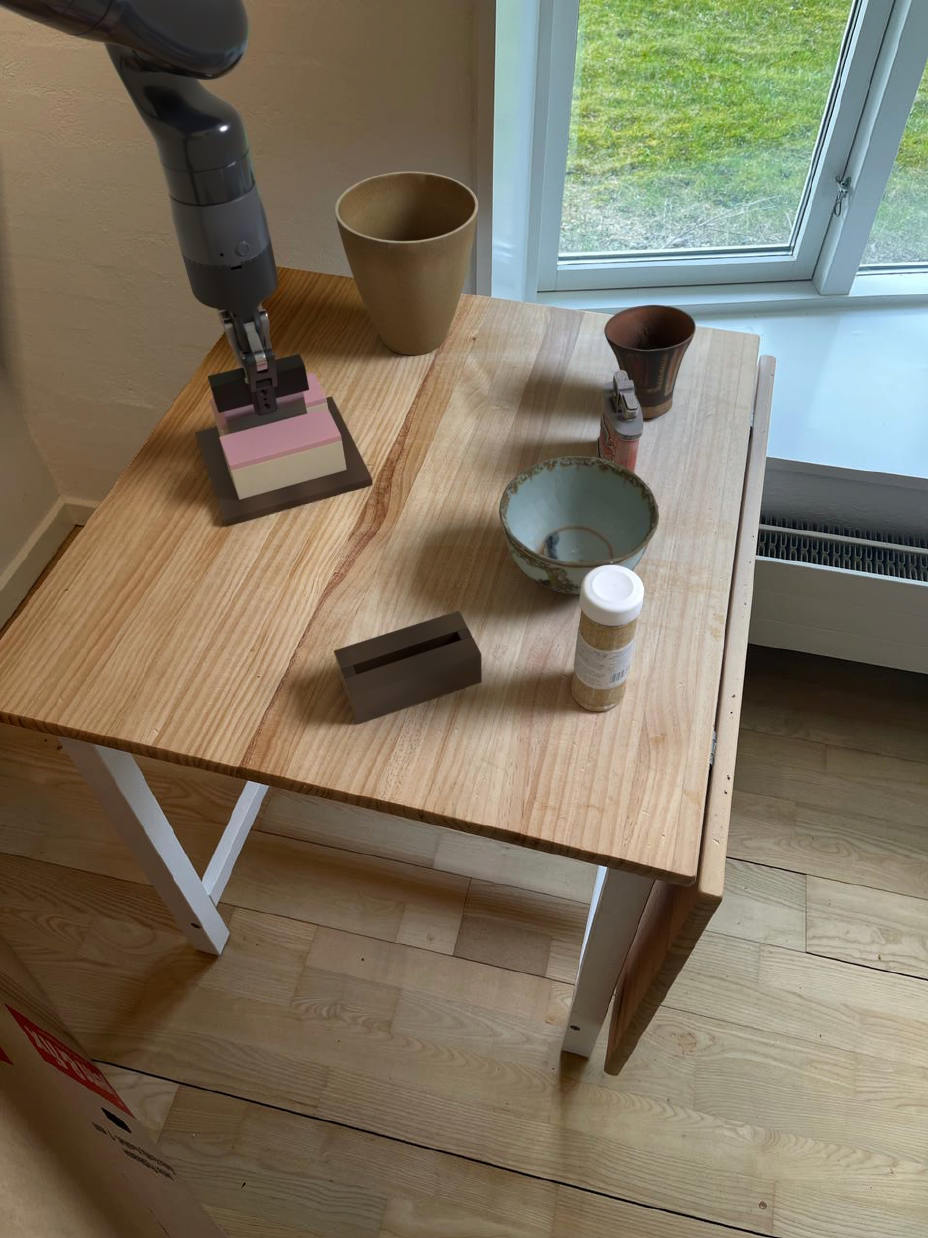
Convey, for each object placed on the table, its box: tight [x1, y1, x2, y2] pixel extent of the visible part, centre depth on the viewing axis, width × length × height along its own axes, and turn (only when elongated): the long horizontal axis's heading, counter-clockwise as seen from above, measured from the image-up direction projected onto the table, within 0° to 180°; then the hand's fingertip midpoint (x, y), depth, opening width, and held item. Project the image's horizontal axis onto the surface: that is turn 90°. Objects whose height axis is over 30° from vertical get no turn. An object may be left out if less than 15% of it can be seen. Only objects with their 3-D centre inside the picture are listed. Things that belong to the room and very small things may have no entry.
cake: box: [219, 408, 346, 500], centre depth 93 cm, size 11×4×4 cm, turn 112°
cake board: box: [194, 395, 373, 527], centre depth 97 cm, size 15×14×1 cm
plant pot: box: [334, 171, 479, 356], centre depth 104 cm, size 15×15×16 cm
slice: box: [208, 372, 328, 437], centre depth 97 cm, size 11×4×4 cm, turn 111°
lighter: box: [595, 369, 644, 474], centre depth 92 cm, size 8×3×10 cm, turn 6°
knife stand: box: [333, 610, 483, 725], centre depth 78 cm, size 11×5×4 cm, turn 112°
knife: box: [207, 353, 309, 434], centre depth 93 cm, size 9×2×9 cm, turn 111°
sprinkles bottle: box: [570, 565, 645, 712], centre depth 74 cm, size 5×5×13 cm
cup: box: [603, 304, 697, 419], centre depth 98 cm, size 9×9×10 cm
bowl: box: [498, 455, 660, 595], centre depth 84 cm, size 14×13×8 cm
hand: (263, 403), depth 93 cm, fingers closed on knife, 2 cm apart
